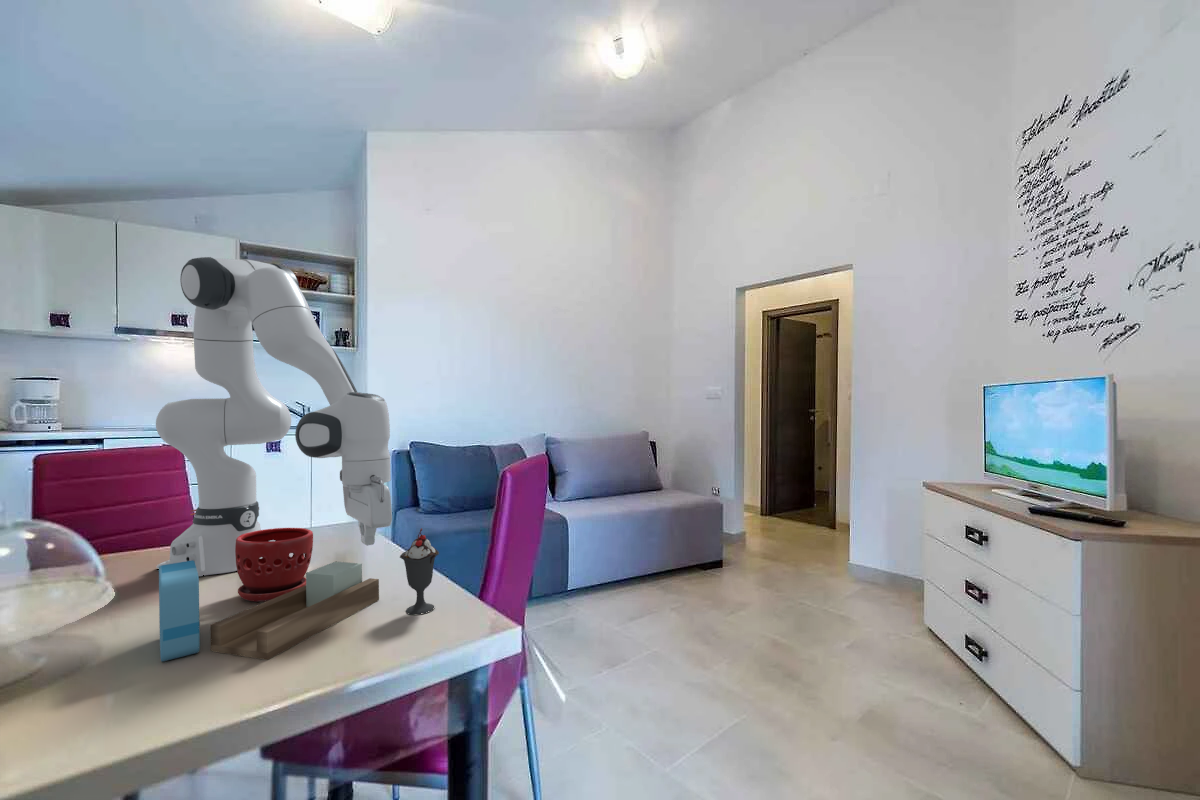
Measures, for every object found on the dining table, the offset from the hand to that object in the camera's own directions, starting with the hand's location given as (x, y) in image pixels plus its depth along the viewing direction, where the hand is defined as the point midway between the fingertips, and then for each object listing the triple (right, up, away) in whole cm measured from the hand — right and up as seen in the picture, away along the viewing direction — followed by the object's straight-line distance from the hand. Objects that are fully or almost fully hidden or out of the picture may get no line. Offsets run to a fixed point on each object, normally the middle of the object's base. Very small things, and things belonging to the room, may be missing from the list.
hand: (367, 543), depth 105 cm
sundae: (+14, -10, -9) cm, 19 cm away
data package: (-19, -10, -23) cm, 32 cm away
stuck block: (-3, -8, -8) cm, 12 cm away
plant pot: (-18, -10, 0) cm, 21 cm away
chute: (-5, -10, -15) cm, 18 cm away
